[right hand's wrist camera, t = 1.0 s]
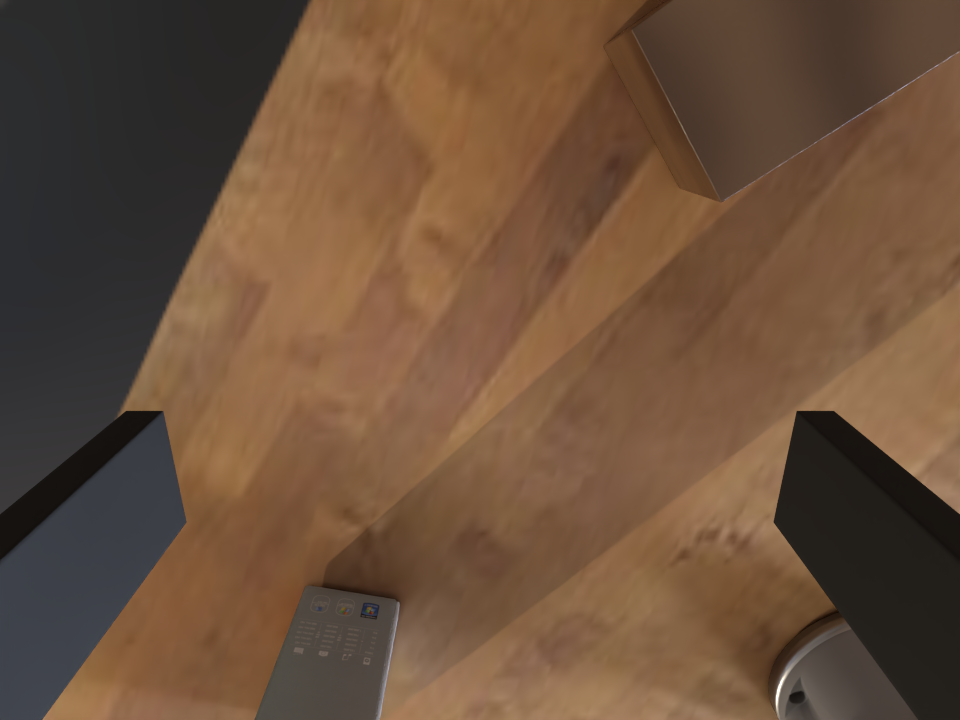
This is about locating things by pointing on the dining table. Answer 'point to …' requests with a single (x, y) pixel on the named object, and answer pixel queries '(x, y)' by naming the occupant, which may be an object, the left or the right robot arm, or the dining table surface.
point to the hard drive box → (333, 658)
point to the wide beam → (769, 76)
